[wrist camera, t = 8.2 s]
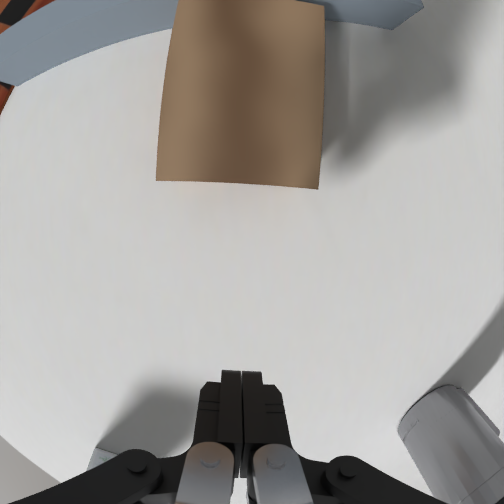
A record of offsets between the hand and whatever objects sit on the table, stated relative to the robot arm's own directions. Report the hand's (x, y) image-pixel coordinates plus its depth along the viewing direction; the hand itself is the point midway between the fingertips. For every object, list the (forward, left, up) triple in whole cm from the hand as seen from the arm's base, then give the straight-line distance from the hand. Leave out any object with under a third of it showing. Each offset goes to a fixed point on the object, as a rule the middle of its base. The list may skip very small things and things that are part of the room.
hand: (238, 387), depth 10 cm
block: (0, -13, -10) cm, 16 cm away
